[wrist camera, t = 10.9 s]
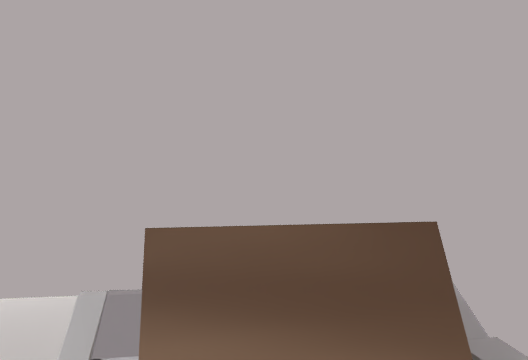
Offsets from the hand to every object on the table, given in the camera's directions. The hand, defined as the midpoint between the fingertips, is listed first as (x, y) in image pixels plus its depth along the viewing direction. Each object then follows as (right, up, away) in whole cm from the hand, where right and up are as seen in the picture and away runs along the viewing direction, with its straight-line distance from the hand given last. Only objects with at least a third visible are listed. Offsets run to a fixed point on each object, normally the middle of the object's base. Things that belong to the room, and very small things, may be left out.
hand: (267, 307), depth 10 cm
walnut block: (-1, -7, +7) cm, 10 cm away
